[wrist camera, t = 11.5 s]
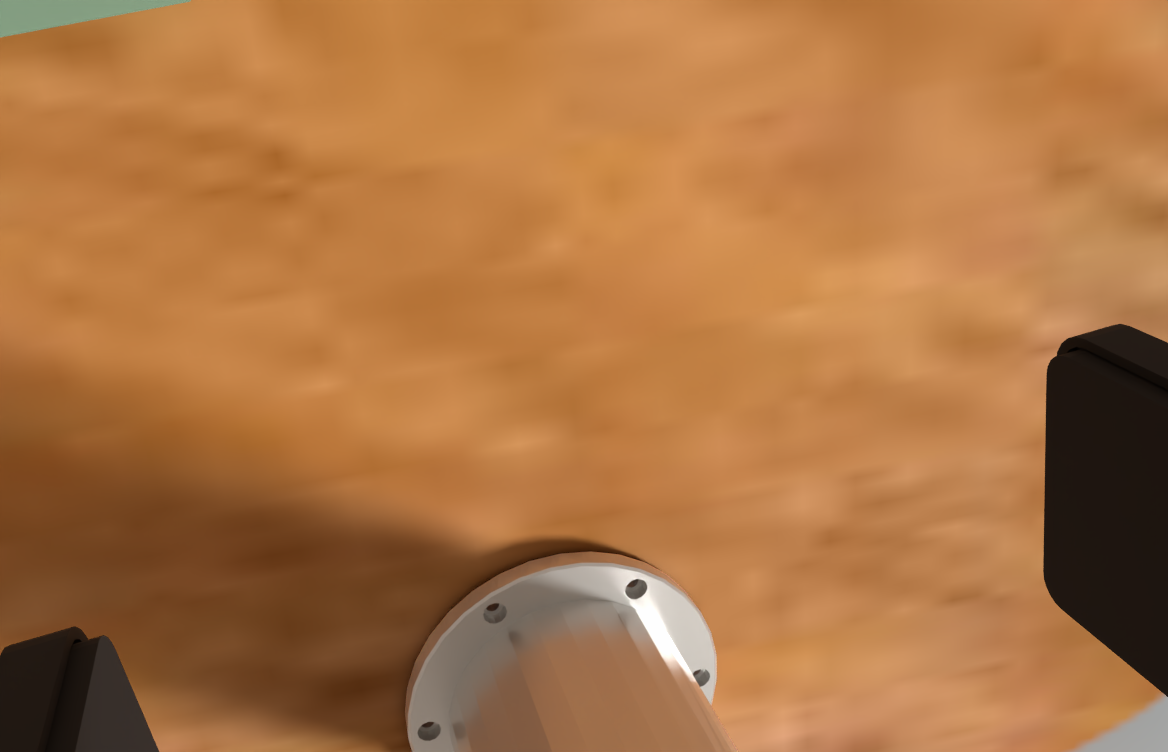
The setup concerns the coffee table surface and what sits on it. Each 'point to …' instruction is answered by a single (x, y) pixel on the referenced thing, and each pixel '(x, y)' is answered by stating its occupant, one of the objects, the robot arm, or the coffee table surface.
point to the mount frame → (65, 12)
